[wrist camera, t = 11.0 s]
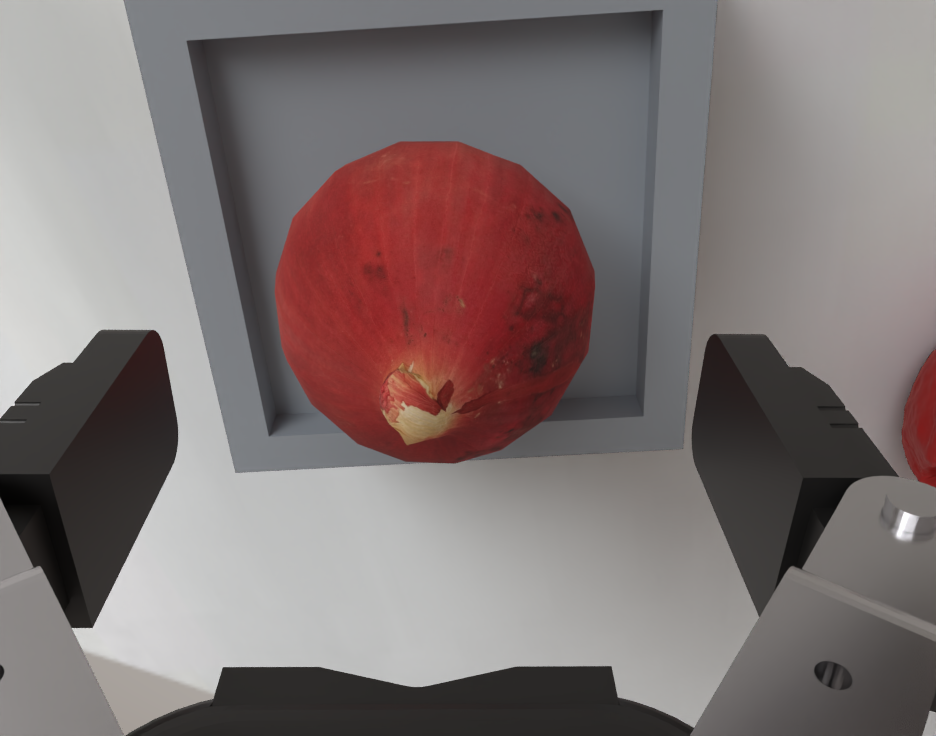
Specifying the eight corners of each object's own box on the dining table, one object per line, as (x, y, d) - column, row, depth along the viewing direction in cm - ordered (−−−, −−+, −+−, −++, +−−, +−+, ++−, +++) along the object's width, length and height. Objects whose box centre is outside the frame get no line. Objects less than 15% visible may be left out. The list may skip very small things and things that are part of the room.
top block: (182, -30, 19) (120, -14, 16) (673, -63, 19) (721, -54, 15) (267, 390, 24) (235, 472, 21) (650, 369, 24) (683, 449, 21)
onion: (579, 102, 18) (656, 232, 11) (563, 348, 20) (615, 581, 13) (299, 101, 18) (190, 230, 11) (321, 348, 20) (246, 581, 13)
